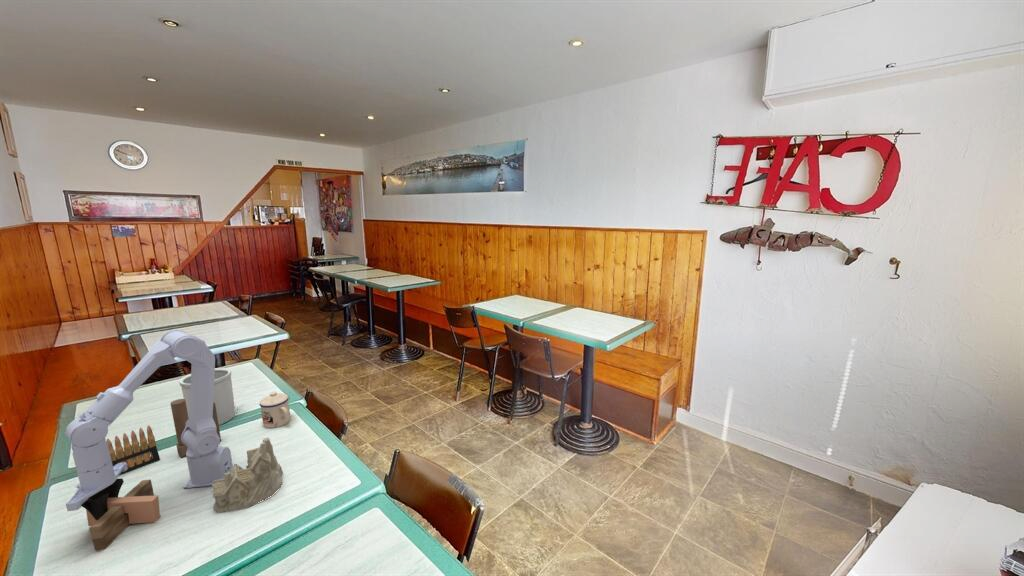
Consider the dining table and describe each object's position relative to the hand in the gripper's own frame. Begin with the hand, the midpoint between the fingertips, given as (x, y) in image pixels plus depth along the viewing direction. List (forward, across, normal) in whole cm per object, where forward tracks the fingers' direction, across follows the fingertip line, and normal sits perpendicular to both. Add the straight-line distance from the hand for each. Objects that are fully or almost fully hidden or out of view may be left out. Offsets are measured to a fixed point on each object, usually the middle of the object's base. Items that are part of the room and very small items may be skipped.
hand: (106, 514), depth 96 cm
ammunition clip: (+3, -24, -10) cm, 26 cm away
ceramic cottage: (+3, -8, +29) cm, 30 cm away
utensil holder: (+3, -51, -3) cm, 51 cm away
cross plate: (+2, 0, +4) cm, 4 cm away
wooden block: (+3, -32, +3) cm, 32 cm away
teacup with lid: (+3, -44, +22) cm, 49 cm away
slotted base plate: (+3, 0, +4) cm, 5 cm away
